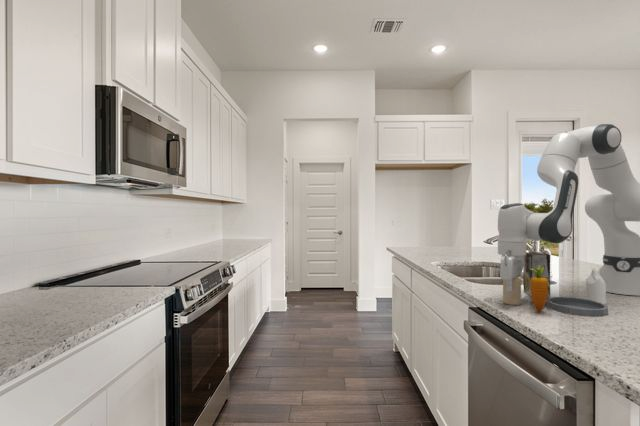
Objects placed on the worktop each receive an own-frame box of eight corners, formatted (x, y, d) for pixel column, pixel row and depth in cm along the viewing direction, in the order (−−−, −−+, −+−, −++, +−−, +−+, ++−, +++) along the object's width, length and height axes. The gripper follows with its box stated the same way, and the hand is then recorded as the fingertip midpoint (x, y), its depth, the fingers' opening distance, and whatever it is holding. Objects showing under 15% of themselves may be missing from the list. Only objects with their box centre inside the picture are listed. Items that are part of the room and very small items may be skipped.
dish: (550, 300, 125) (550, 294, 125) (607, 307, 115) (607, 301, 115) (544, 310, 113) (544, 304, 113) (608, 319, 103) (608, 313, 103)
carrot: (542, 315, 107) (542, 267, 107) (526, 311, 111) (526, 265, 111) (551, 313, 109) (551, 266, 109) (535, 309, 114) (535, 264, 113)
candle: (499, 301, 124) (499, 273, 124) (514, 300, 124) (514, 273, 124) (509, 305, 118) (509, 276, 118) (524, 305, 119) (524, 276, 119)
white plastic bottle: (608, 270, 117) (587, 269, 120) (608, 305, 118) (587, 303, 120) (603, 267, 123) (584, 266, 125) (603, 301, 123) (584, 299, 125)
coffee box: (550, 298, 128) (550, 254, 128) (531, 297, 129) (531, 254, 129) (540, 292, 137) (540, 251, 137) (522, 291, 138) (522, 251, 138)
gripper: (516, 253, 111) (516, 295, 111) (526, 247, 127) (526, 284, 127) (495, 251, 115) (495, 293, 115) (507, 246, 131) (507, 282, 131)
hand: (511, 288), depth 121 cm, fingers closed on candle, 5 cm apart
